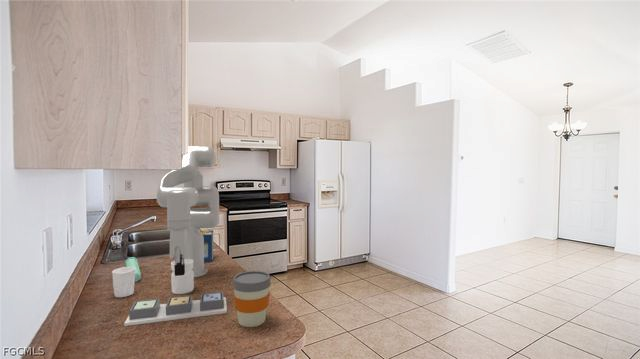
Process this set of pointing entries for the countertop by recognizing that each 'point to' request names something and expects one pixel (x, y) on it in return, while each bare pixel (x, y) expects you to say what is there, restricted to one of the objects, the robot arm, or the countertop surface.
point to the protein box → (208, 245)
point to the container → (134, 263)
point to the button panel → (176, 310)
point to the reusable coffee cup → (251, 297)
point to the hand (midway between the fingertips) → (179, 274)
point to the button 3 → (212, 297)
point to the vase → (183, 278)
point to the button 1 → (145, 304)
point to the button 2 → (179, 301)
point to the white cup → (123, 281)
